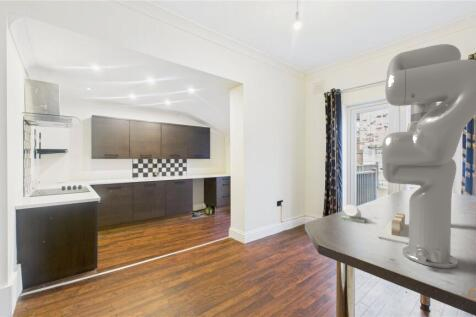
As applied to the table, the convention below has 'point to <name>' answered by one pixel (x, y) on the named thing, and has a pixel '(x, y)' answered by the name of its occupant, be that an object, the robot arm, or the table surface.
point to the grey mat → (401, 239)
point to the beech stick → (398, 224)
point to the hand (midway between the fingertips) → (422, 164)
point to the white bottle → (352, 211)
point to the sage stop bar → (353, 219)
